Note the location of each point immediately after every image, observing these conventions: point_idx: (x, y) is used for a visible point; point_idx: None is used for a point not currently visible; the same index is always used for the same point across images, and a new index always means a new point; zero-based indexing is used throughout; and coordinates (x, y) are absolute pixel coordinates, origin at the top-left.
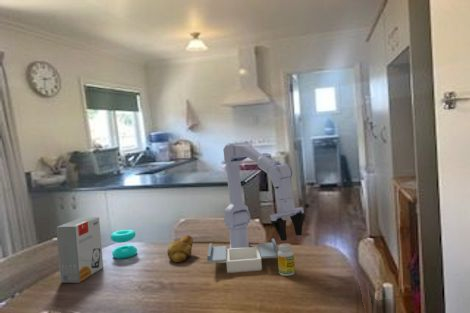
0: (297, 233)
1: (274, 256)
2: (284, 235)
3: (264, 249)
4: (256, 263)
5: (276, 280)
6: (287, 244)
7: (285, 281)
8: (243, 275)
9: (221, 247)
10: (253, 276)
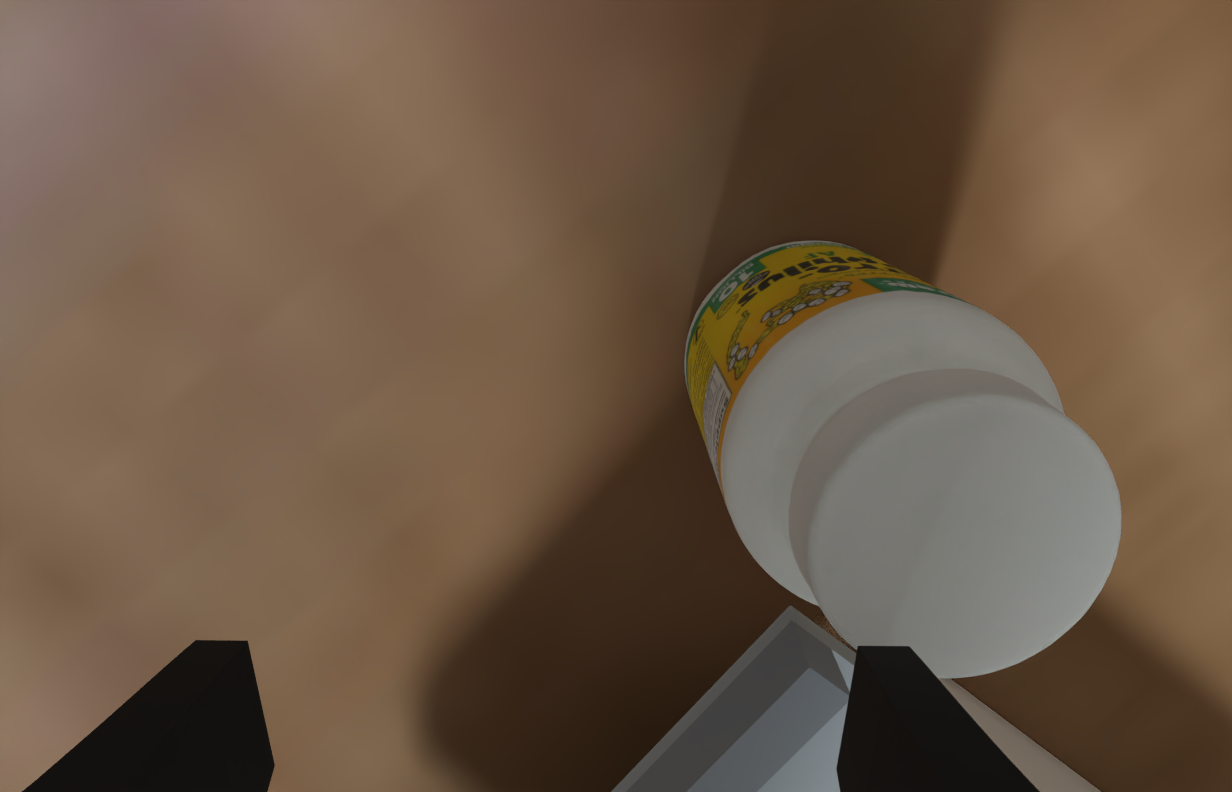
0: (246, 766)
1: None
2: (998, 752)
3: None
4: (1018, 764)
5: (1097, 285)
6: (885, 533)
7: (1057, 160)
8: (1188, 710)
9: None
10: (1149, 602)
